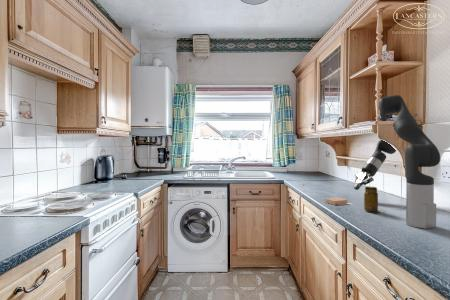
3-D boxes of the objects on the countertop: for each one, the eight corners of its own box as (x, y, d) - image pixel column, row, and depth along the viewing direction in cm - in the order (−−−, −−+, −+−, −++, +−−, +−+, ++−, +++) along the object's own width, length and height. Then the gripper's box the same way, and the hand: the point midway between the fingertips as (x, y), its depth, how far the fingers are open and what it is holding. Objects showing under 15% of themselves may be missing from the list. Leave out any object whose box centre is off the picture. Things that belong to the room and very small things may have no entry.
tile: (347, 199, 152) (334, 201, 149) (347, 203, 152) (334, 205, 149) (338, 197, 158) (325, 198, 155) (338, 201, 158) (325, 202, 155)
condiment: (367, 208, 142) (367, 185, 142) (384, 211, 135) (384, 187, 135) (360, 211, 137) (360, 187, 137) (378, 214, 131) (378, 189, 130)
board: (352, 204, 152) (352, 203, 152) (339, 205, 149) (339, 205, 149) (340, 201, 160) (340, 200, 160) (328, 202, 157) (328, 201, 157)
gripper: (359, 161, 167) (343, 183, 163) (378, 163, 154) (361, 186, 151) (366, 170, 169) (350, 191, 165) (385, 172, 156) (368, 195, 153)
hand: (355, 188), depth 158 cm, fingers closed
